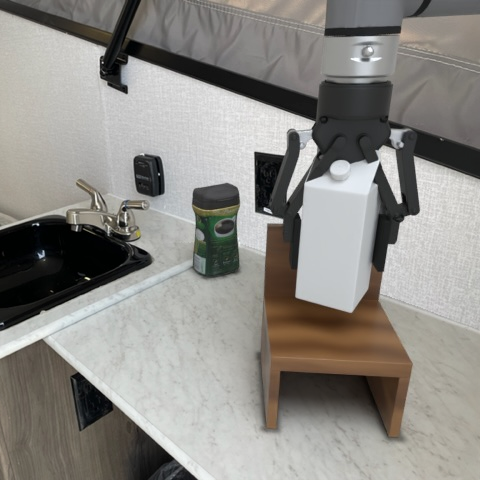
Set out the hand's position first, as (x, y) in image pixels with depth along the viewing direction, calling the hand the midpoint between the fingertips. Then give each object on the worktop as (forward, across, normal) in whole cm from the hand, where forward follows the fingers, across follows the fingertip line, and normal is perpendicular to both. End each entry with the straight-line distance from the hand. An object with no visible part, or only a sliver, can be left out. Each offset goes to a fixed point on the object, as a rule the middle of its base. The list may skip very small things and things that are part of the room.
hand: (334, 265), depth 62 cm
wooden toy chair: (+19, 0, 0) cm, 19 cm away
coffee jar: (+20, -16, +38) cm, 46 cm away
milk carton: (+4, 0, 0) cm, 4 cm away
